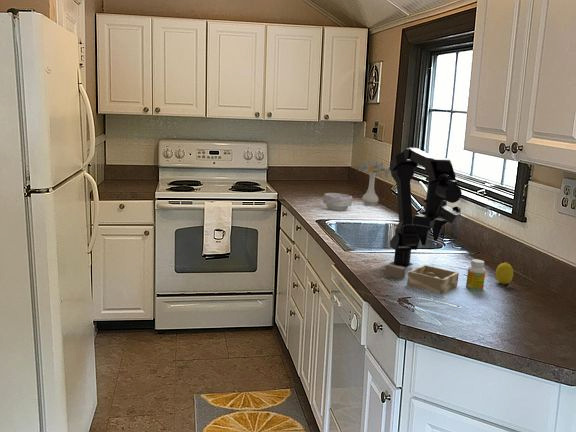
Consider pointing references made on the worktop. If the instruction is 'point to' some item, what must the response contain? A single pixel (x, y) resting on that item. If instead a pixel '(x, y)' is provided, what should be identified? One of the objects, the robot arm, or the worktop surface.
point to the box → (432, 279)
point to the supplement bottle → (476, 275)
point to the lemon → (504, 273)
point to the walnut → (431, 274)
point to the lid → (395, 271)
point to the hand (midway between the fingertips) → (429, 242)
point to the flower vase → (372, 181)
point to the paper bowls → (337, 201)
